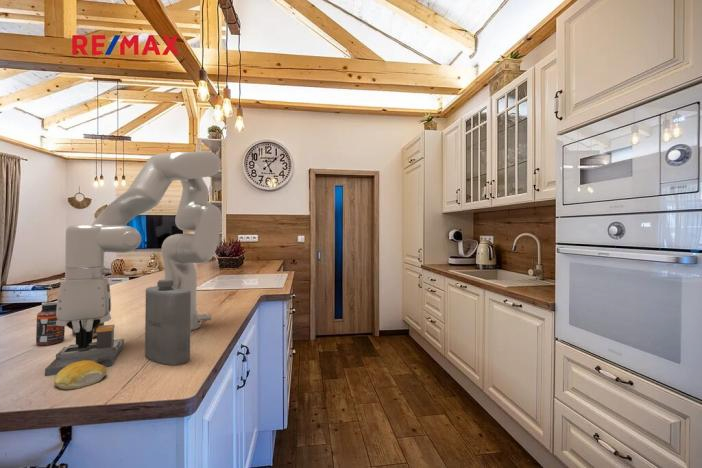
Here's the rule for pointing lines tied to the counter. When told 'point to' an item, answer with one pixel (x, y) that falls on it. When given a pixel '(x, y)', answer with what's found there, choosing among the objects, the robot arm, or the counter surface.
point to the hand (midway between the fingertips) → (84, 346)
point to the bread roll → (80, 374)
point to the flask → (167, 324)
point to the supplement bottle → (48, 326)
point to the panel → (85, 356)
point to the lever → (105, 336)
